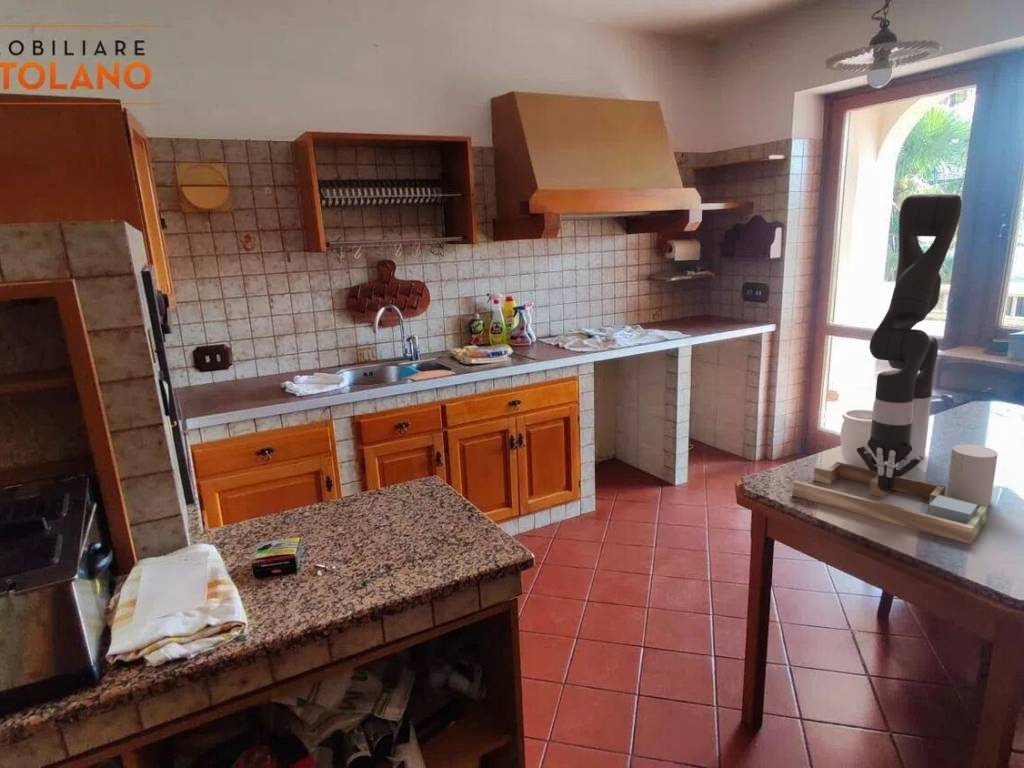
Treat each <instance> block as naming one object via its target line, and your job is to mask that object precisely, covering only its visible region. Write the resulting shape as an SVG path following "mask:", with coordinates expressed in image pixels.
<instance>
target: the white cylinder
mask: <svg viewBox="0 0 1024 768" xmlns="http://www.w3.org/2000/svg"><path fill="white" fill-rule="evenodd" d="M997 460H998V451H996V450H995V449H992V448H990V447H986V446H982V445H976V444H968V443H967V444H956V445H954V446H952V448H951V457H950V464H949V471H948V481H947V486H946V487H947V489H946V495H945V496H947V497H951V498H955V499H960V500H964V501H968V502H972V503H977V504H981V505H985V506H988V507H989V506H991V504H992V503H991V502H992V498H993V497H992V496H993V495H992V494H993V489H994V482H995V481H994V480H995V475H996V468H997Z"/></svg>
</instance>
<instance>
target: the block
mask: <svg viewBox="0 0 1024 768" xmlns="http://www.w3.org/2000/svg"><path fill="white" fill-rule="evenodd" d="M928 507H929V509H928V515H932V516H936V517H940V518H943V519H947V520H951V521H955V522H959V523H963V524H967V523H968V522H969V521H970V519H971V518H972V516H973V515H974V514H975V512H976V511H977V504H973V503H968V502H964V501H960V500H955V499H951V498H947V497H943V496H937V497H936V498H935V499H934V500H933V501H932V502H931V504H930V506H929V505H928Z"/></svg>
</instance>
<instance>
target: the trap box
mask: <svg viewBox="0 0 1024 768" xmlns="http://www.w3.org/2000/svg"><path fill="white" fill-rule="evenodd" d="M878 476H879V475H878V473H877V472H875V471H871V470H870V469H867V468H862V467H858V466H853V465H849V464H844V462H840V461H836V462H835V463H834V464H832V465H831V466H829V467H828V468H826V467H821V466H817V465H816V466H814V469H813V481H814V482H815V481H816V482H819V483H823V484H828V485H831V484H832V483H834V482H835V481H836V480H837V479H839V478H843V479H847V480H851V481H854V482H858V483H863V484H868V485H869V495H872V496H876V497H880V498H886V496H887V495H888V494H889V493H891V492H892V490H893V491H896V492H899V493H904V494H908V495H914V496H918V497H921V498H926V499H929V500H928V508H927V509H928V510H929V506H930V504H931V502H932V501H933V500H934V499H935V498H936V497H937V496H943V497H947V496H946V495H945V494H946V493H945V492H946V485H943V484H939V483H933V482H929V481H924V480H920V479H916V478H911V477H906V476H903V475H902V476H901V477H895V479H894V487H893V488H892V489H891V490H889V491H888V492H885V491H881V490H880V488H879V487H878ZM792 484H793V485H792V496H794V497H797V498H800V499H805V500H809V501H812V502H814V503H815V502H816V503H820V504H822V505H825V506H830V507H833V508H837V509H841V510H845V511H849V512H851V513H854V514H859V515H862V516H866V517H870V518H874V519H878V520H881V521H884V522H887V523H891V524H896V525H899V526H902V527H906V528H909V529H913V530H916V531H921V532H923V533H924V532H925V533H928V534H932V535H935V536H939V537H941V538H942V537H943V538H944V539H945V538H946V539H949V540H953V541H957V542H960V543H964V544H968V545H971V544H972V543H973V541H974V539H976V536H977V535H978V533H980V531H981V530H982V528H983V527H984V525H985V524H986V522H987V516H988V510H989V506H985V505H981V504H977V503H973V504H977V511H976V512H975V514H974V515H973V516H972V518H971V519H970V521H969V522H968V523H967V524H963V523H959V522H955V521H951V520H947V519H943V518H940V517H936V516H932V515H928V514H929V513H928V514H927V513H924V512H921V511H916V510H912V509H908V508H903V507H900V506H896V505H892V504H889V503H885V502H880V501H877V500H872V499H870V498H869V499H868V498H865V497H862V496H857V495H855V494H854V495H853V494H850V493H847V492H841V491H838V490H835V489H830V488H825V487H822V486H819V485H814V484H811V483H807V482H802V481H799V480H794V481H793V483H792ZM947 498H951V497H947ZM951 499H955V498H951ZM955 500H960V499H955ZM960 501H964V500H960ZM964 502H968V501H964ZM968 503H972V502H968Z"/></svg>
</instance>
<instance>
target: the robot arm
mask: <svg viewBox="0 0 1024 768" xmlns="http://www.w3.org/2000/svg"><path fill="white" fill-rule="evenodd" d="M962 202H963V201H962V197H961V195H959V194H957V193H950V192H949V193H947V192H946V193H945V192H944V193H943V192H942V193H939V192H938V193H937V192H936V193H914V194H909V195H907V196H906V197H905V198H904V199H903V201H902V202H901V203H902V204H901V205H900V210H899V213H898V214H899V216H898V261H897V269H896V277H895V283H894V289H893V292H892V295H891V300H890V303H889V307H888V310H887V312H886V314H885V315H884V317H883V318H882V320H881V322H880V324H879V325H878V327H877V328H875V329H876V330H875V331H874V333H873V334H872V337H871V339H870V342H869V351H870V354H871V356H872V357H874V358H875V359H877V360H879V361H887V362H888V365H889V367H891V368H892V370H891V369H890V370H889V369H888V370H884V371H880V372H879V373H878V374H877V378H876V385H875V394H874V402H873V405H872V410H871V411H872V425H871V437H870V439H869V440H868V443H867V444H865V445H861V446H860V447H858V448H857V452H858V453H859V455H860V456H861V458H862V459H863V460H864V462H865V463H866V465H867V466H868V468H869V469H870V470H871V471H875V472H877V473H878V475H879V476H878V487H879V488H880V490H881V491H885V492H888V491H889V490H891V489H892V488H893V487H894V479H895V477H901V476H903V475H905V474H906V473H908V472H909V471H911V470H912V469H914V467H916V466H917V465H919V464H920V463H921V462H922V461H923V458H925V457H926V456H925V455H926V448H927V439H928V431H929V423H930V413H931V406H932V405H931V404H932V394H933V384H934V383H933V382H934V375H935V370H936V365H937V358H938V351H939V342H938V339H937V338H936V337H935V336H929V335H928V334H927V333H926V332H925V331H924V330H922V329H913V328H914V327H915V326H916V325H917V324H918V323H921V322H923V321H924V320H925V319H926V317H927V316H928V315H929V314H930V313H931V312H932V311H933V310H934V309H935V308H936V306H937V305H938V302H939V300H940V293H941V286H942V278H941V277H942V276H941V274H940V270H941V268H942V266H943V264H944V262H945V259H946V256H947V255H948V252H949V249H950V246H951V244H952V242H953V239H954V236H955V234H956V231H957V228H958V227H959V223H960V218H961V212H962ZM919 237H933V238H934V240H933V242H932V243H931V244H930V246H929V248H927V250H926V251H925V252H924V250H923V249H922V247H921V244H920V242H919ZM870 449H871V450H870ZM871 451H872V452H873V454H874V455H875V457H876V458H877V461H876V460H875V459H874V457H873V456H872V454H871V453H870V452H871ZM903 459H905V460H906V462H907V463H906V464H904V465H902V467H901V468H899V469H898V465H899V463H900V462H901V461H903ZM891 491H892V490H891Z"/></svg>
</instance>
